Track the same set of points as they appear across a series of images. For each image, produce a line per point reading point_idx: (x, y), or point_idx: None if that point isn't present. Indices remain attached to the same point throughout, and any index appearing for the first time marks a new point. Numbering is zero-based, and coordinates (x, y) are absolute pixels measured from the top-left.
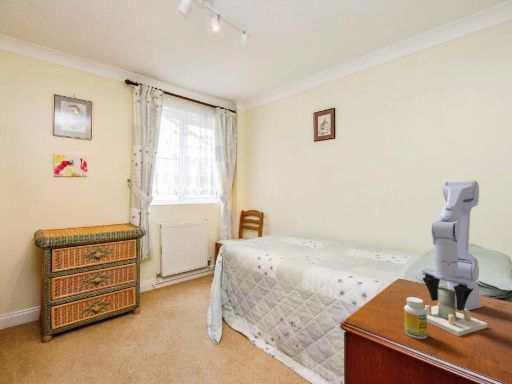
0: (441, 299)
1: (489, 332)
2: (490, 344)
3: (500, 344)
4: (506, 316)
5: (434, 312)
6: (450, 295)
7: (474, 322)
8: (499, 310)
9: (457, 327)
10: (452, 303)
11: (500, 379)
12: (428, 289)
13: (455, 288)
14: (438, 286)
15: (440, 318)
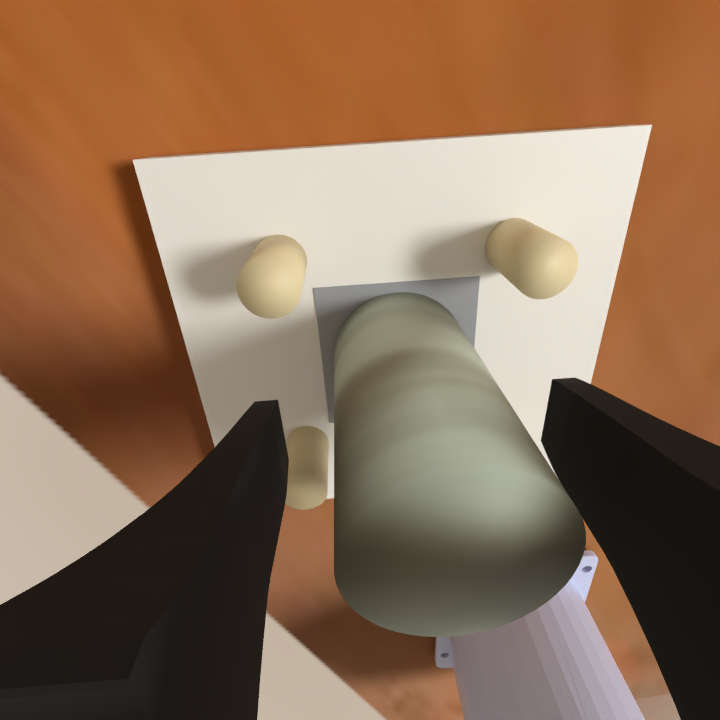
0: (437, 383)
1: (177, 437)
2: (8, 279)
3: (11, 346)
4: (317, 654)
5: (503, 332)
6: (344, 494)
7: None
8: (377, 679)
9: (211, 240)
10: (334, 432)
11: None
12: (702, 442)
13: (92, 636)
14: (631, 604)
15: (397, 266)
